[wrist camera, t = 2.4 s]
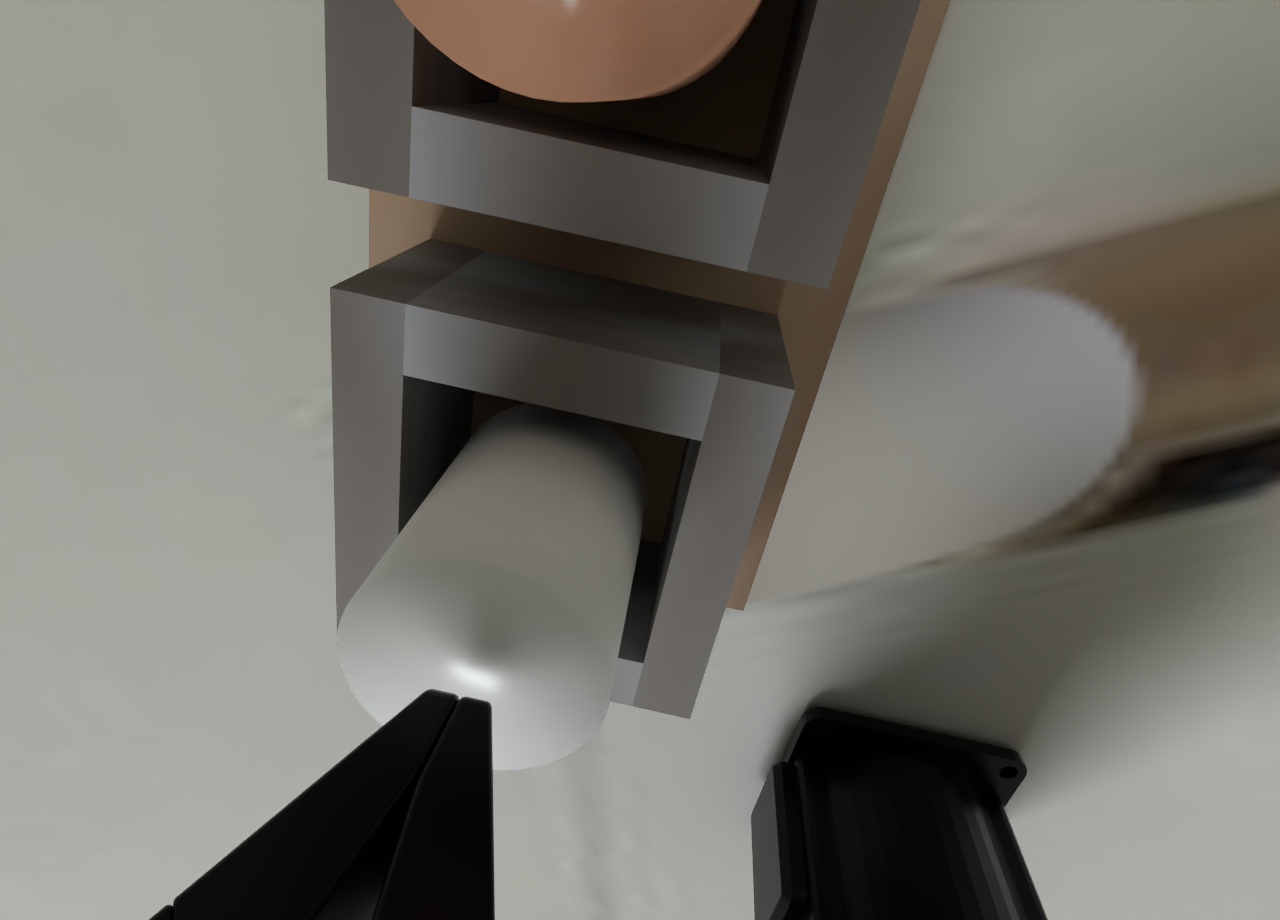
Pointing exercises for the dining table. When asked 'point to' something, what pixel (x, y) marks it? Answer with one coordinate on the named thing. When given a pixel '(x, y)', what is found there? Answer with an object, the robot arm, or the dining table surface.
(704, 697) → the dining table surface
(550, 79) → the terracotta plunger
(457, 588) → the white short rounded cylinder
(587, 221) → the double box holder
